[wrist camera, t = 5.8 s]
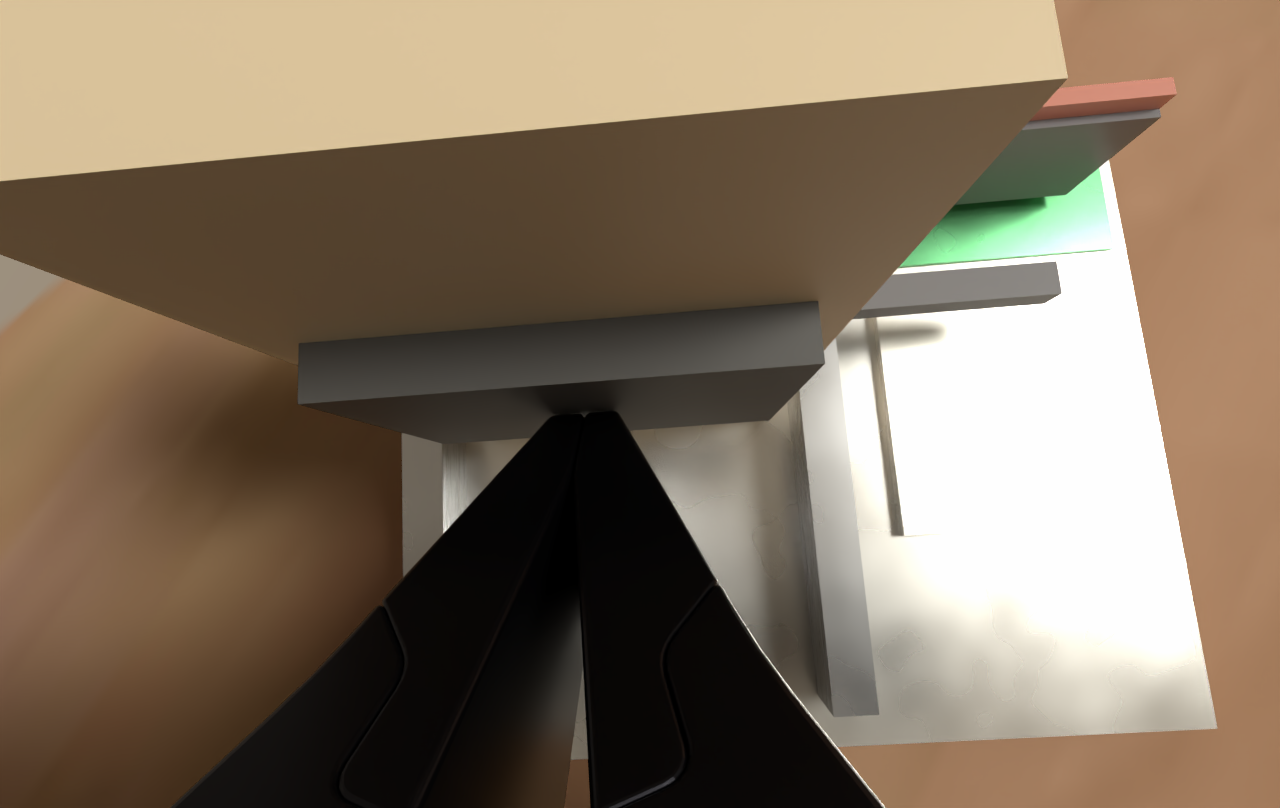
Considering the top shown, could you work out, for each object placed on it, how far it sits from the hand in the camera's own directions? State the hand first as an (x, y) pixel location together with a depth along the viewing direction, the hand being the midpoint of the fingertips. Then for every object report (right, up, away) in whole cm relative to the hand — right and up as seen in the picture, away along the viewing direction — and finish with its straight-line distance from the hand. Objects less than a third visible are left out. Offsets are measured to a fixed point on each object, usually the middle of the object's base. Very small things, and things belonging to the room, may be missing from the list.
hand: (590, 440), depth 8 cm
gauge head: (+3, +2, +6) cm, 7 cm away
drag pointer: (+8, +5, +6) cm, 11 cm away
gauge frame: (+4, 0, +7) cm, 8 cm away
